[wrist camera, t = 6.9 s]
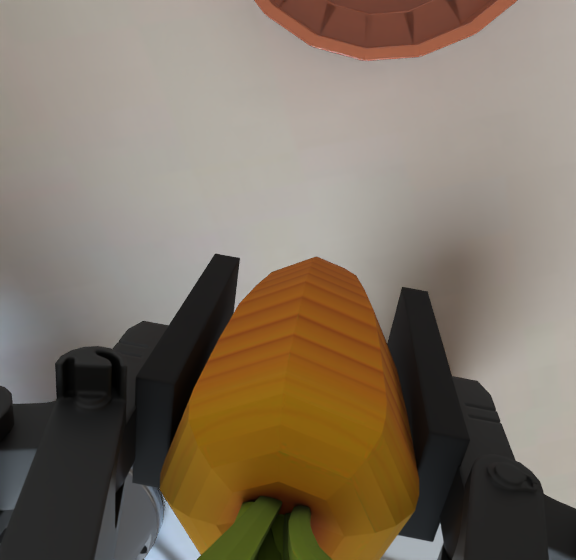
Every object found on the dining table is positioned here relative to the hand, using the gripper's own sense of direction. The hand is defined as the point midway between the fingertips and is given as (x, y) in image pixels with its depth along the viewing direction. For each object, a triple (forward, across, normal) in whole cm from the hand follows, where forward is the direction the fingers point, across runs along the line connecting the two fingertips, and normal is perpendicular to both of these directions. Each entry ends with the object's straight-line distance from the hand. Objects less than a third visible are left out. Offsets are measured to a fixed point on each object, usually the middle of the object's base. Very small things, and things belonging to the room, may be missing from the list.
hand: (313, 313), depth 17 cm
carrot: (+3, 0, 0) cm, 3 cm away
